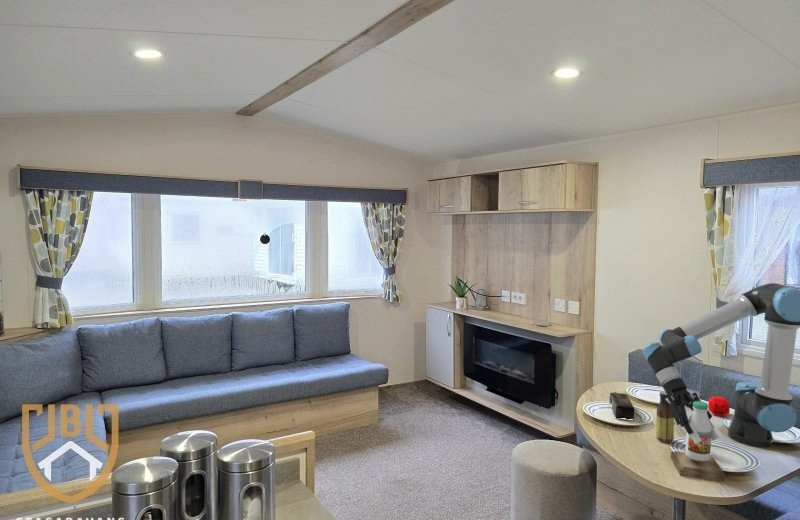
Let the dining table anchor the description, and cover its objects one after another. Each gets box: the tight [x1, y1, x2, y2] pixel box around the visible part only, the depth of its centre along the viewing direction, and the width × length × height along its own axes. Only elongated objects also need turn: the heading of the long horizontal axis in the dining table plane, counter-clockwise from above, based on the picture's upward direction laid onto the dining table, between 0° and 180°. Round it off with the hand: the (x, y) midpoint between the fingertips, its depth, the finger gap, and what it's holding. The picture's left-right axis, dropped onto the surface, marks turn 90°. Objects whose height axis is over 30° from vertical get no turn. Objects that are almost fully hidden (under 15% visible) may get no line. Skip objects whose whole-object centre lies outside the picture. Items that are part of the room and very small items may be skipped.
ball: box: [707, 395, 731, 417], centre depth 234 cm, size 8×8×8 cm
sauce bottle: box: [655, 390, 675, 444], centre depth 207 cm, size 7×6×20 cm
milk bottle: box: [684, 400, 712, 461], centre depth 184 cm, size 8×8×20 cm
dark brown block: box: [609, 391, 635, 419], centre depth 237 cm, size 8×19×7 cm, turn 166°
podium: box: [670, 450, 727, 482], centre depth 185 cm, size 14×14×3 cm
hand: (707, 440), depth 181 cm, fingers closed on milk bottle, 7 cm apart
